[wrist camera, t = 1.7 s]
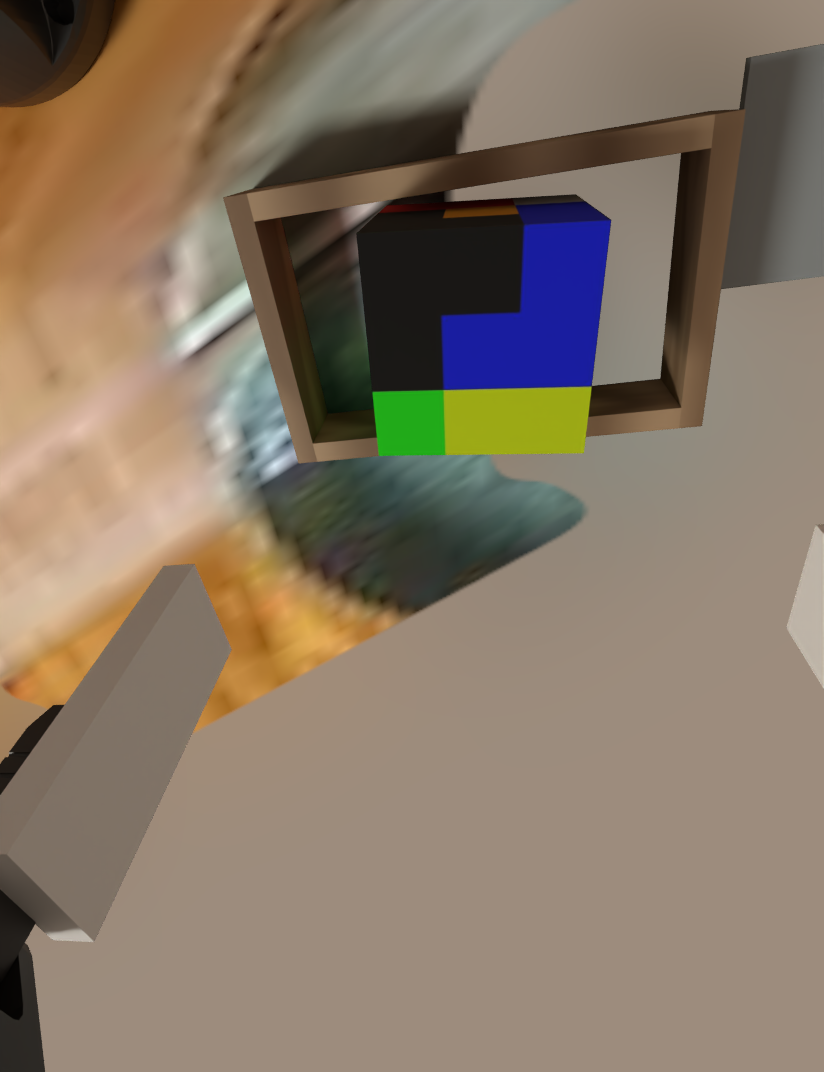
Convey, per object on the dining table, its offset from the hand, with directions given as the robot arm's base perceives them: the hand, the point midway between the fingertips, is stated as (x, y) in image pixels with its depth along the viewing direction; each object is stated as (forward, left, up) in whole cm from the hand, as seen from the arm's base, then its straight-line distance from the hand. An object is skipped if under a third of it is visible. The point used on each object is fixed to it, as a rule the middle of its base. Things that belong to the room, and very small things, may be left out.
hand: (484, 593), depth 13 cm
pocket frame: (0, 0, -26) cm, 26 cm away
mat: (-4, +18, -26) cm, 32 cm away
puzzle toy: (0, 0, -26) cm, 26 cm away
